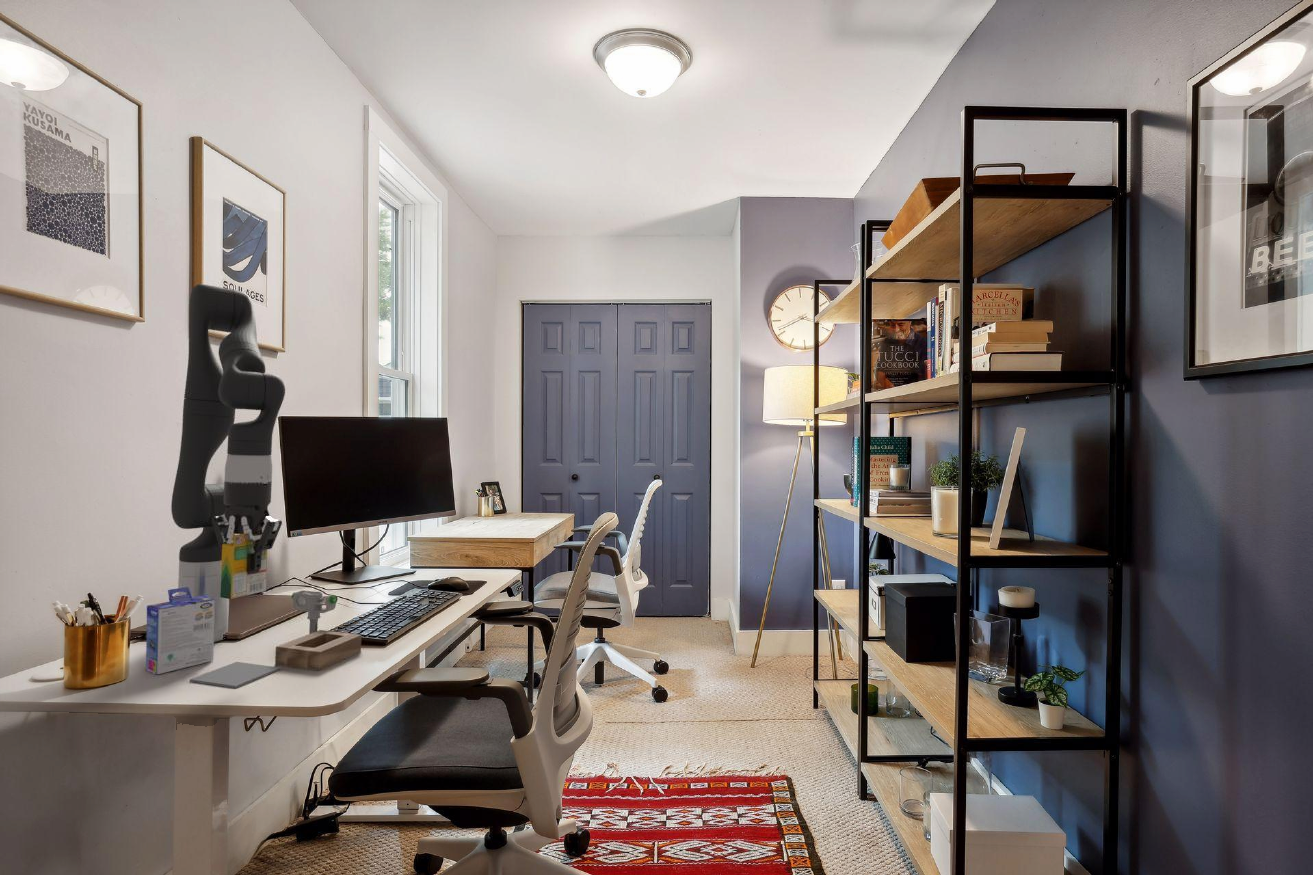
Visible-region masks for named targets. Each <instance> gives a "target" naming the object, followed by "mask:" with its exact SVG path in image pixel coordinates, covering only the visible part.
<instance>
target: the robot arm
mask: <svg viewBox="0 0 1313 875" xmlns="http://www.w3.org/2000/svg"><path fill="white" fill-rule="evenodd" d="M188 308H189V309H188V354H187V355H188V359H187V360H188V361H187V370H186V379H185V380H186V381H185V389H184V395H183V397H184V399H183V404H182V405H183V406H182V423H181V424H182V425H181V426H182V427H181V440H180V450H179V456H178V463H177V464H178V465H177V468H176V473H175V479H174V484H173V485H174V486H173V488H172V495H171V496H172V497H171V505H170V507H171V516H172V519H173V522H174V524H176V526H178V528H180V529H182V530H183V529H184V530H191V529H202V532H200V534H199V535H198V536H197V537H196V538H194V539H193V540H190V541H189V542H187V543H185V544H184V545H182V546H181V547H180V549H179V553H178V561H179V562H178V580H177V582H178V583H177V584H178V585H177V589H178V588H185V587H189V590H190V593H191V596H192V597H198V596H206V597H209V598H212V599H215V614H214V643H215V642H219V641H223V640H224V639H223V634H225V633H226V632H229V610H230V609H229V608H230V599H227V598H221V597H220V591H221V566H222V544H228V543H234V535H239V534H244V540H245V541H247V543H248V551H249V553H250V554H248V555H247V573H248V574H253V573H258V572H259V570H260V568H261V557H262V552H263V551H264V550H267V551H268V550H271V549H273V546H274V544H275V541H276V540H277V536H278V535H279V533H280V530H281V527H282V525H283V522H282V520H281V519H274V518H272V517H271V516H270V512H269V509H268V507H269V505H270V504H271V502H272V487H273V486H272V485H273V484H272V483H273V481H272V480H273V462H272V451H273V450H272V446H273V433H274V429H275V424H276V421H277V418H278V414H279V411H280V409H281V407H282V405H283V401H284V400H285V396H286V386H285V384H284V381H283V379H282V378H281V377H280V376H279V375H277V374H274V373H268V372H267V373H266V364H265V362H264V358H263V356H262V354H261V350H260V348H259V345H258V344H259V343H258V337H257V336H258V335H257V324H256V317H255V308H254V304H253V300H252V299H251V297H250V296H249V294H247V292H244V291H240V290H236V289H230V288H225V287H220V286H215V285H209V284H202V283H201V284H195V286H194V287H193V288H192V290H191V293H190V297H189V305H188ZM209 330H210V331H216V332H223V333H224V332H225V333H229V334H227V335H226V336H225V337H223V339H222V340H221V341H220V344H219V347H218V357H219V358H218V359H219V362H220V363H219V362H218V360H217V358H216V356H215V354H214V352H213V349H212V347H211V342H210V336H209ZM236 410H249V411H250V410H251V411H254V410H255V411H260V412H259V414H258V416H257V417H256V418H255V419H253V420H249V421H242V422H236V423H235V418H236ZM226 438H227V449H226V461H225V465H224V466H225V467H224V481H223V483H206V477H207V472H208V469H209V465H210V463H211V461H212V459H213V456H215V454H216V452H217V450H219V448H220V447H221V445H223V443H224V441H225V440H226ZM252 534H258V535H256V536H253V535H252ZM255 540H256V546H255ZM182 595H187V593H186V592H177V593H176V594H175V595H173V597H176V596H182Z"/></svg>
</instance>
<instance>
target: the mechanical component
mask: <svg viewBox="0 0 1313 875" xmlns="http://www.w3.org/2000/svg"><path fill="white" fill-rule="evenodd" d="M291 600H292V601H293V602H292V604H293V606H292V607H293V608H294V610H295V611H297V612H307V617H306V618H307V620H309V629H308V630H309V634H311V633H313V632H316V631H318V627H319V626H318V624H319V623H318V621H319V619H320V618H321V614H325V613H328V612H330V611H334V610H335V609H336V607H337V603H338V600H339V599H338V596H337V595H335V594H328V595H327V596H326V598H325V596H323V591H314V590H313V591H311V590H299V591H295V592H294V591H293V593H292V594H291ZM323 606H325V607H323Z"/></svg>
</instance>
